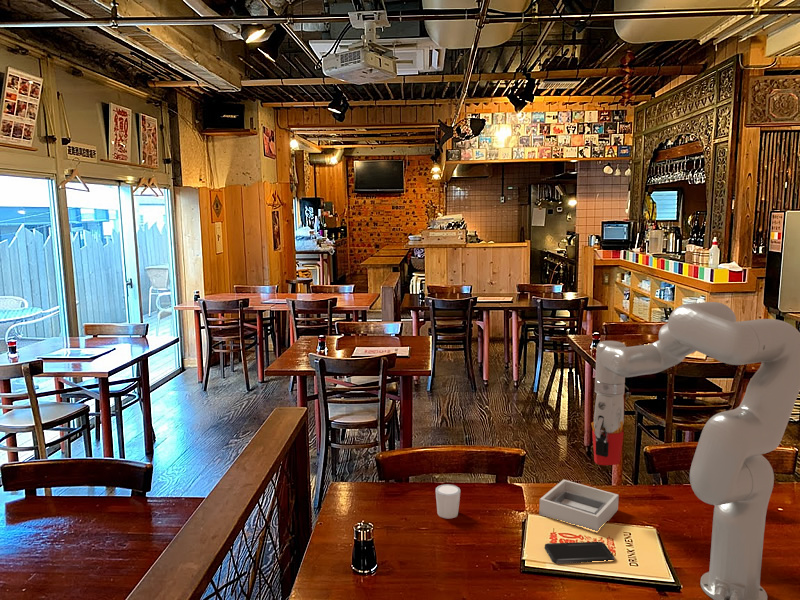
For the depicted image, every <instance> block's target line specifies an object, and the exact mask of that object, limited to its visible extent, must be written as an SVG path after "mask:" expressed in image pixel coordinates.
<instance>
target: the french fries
mask: <svg viewBox="0 0 800 600" xmlns="http://www.w3.org/2000/svg"><path fill="white" fill-rule="evenodd" d="M590 425H591V428H592V430H591V433H592V445H593V446H592V447H593V449H592V450H593V461H594V463H595V464H597V465H600V466H616V465H619V464H620V462H621V455H622V449H623V442H624V433H625V432H624V430H623V425H624V423H623V421H621V427H620V428H618V429H617V430H616V431H614V432H613V433H609V435H608V440H607V442H609V447H608V456H607V457H604V456H600V455H596V435H595V433H594V432H595V428H594V421H592V422H591V423H590ZM596 426H597V425H596ZM602 430H605V431H606V429H605V428H603V427H602ZM601 433H602V434H603V435H604V437H605V433H604V432H601Z"/></svg>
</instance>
